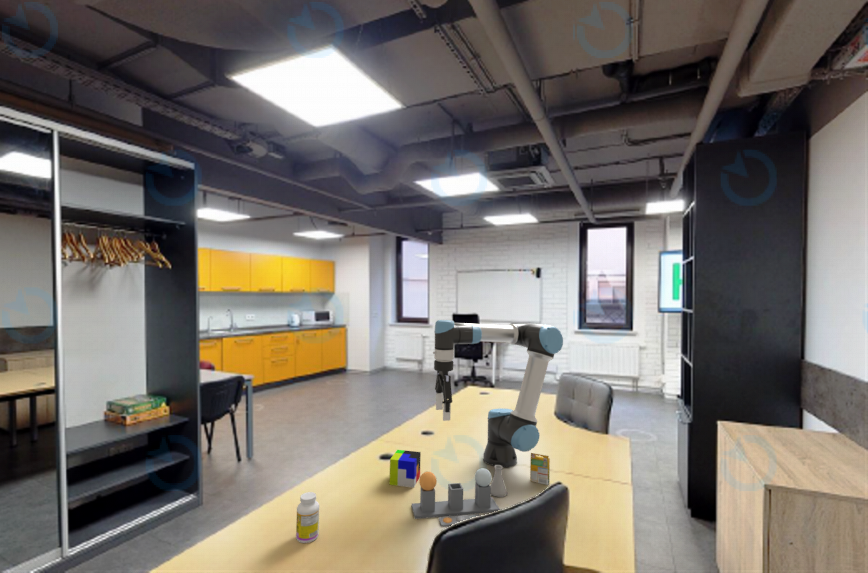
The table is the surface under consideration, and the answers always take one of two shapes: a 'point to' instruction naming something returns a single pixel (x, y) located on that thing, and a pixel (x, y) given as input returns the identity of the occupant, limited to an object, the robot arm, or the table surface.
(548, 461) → the crayon box
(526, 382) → the robot arm
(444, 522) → the card
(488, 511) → the ball display stand
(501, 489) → the flask
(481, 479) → the light gray ball
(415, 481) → the puzzle toy
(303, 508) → the supplement bottle
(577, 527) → the table surface
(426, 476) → the orange ball
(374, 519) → the table surface
